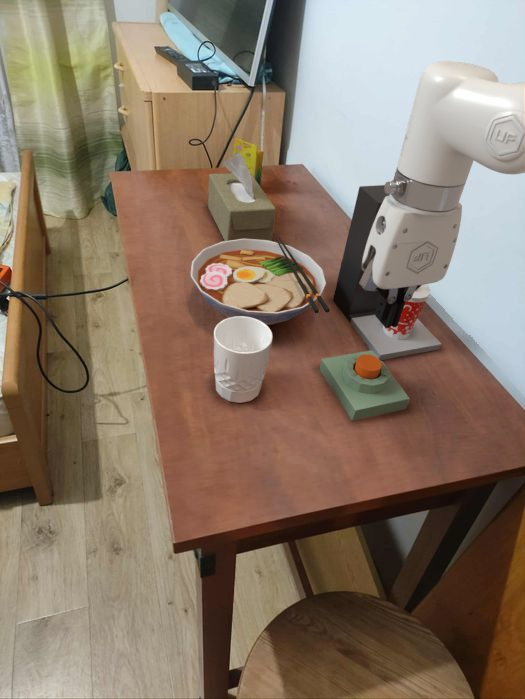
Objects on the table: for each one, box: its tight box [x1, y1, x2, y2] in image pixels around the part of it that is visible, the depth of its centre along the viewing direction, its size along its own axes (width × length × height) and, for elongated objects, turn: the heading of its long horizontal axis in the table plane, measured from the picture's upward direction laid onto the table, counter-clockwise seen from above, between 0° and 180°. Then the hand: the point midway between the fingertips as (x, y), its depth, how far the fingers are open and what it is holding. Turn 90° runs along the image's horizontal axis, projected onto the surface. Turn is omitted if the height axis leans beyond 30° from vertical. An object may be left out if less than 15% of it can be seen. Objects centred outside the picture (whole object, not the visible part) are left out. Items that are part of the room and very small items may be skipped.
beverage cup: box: [383, 284, 432, 340], centre depth 83 cm, size 6×6×14 cm
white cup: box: [213, 316, 274, 404], centre depth 71 cm, size 8×8×10 cm
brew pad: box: [318, 349, 410, 422], centre depth 76 cm, size 11×9×4 cm
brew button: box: [355, 354, 382, 379], centre depth 74 cm, size 4×4×2 cm
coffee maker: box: [332, 184, 442, 361], centre depth 83 cm, size 17×12×22 cm
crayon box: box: [232, 137, 265, 187], centre depth 125 cm, size 7×3×12 cm, turn 52°
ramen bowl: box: [190, 232, 331, 326], centre depth 87 cm, size 25×23×8 cm
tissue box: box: [207, 153, 277, 242], centre depth 108 cm, size 19×10×16 cm, turn 17°
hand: (385, 321), depth 68 cm, fingers closed
